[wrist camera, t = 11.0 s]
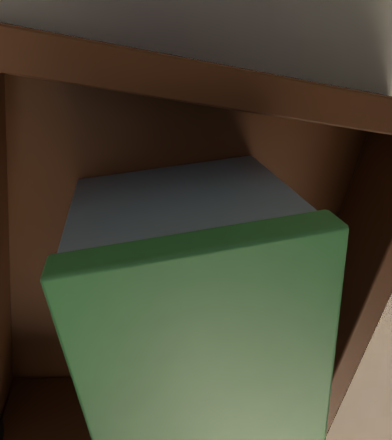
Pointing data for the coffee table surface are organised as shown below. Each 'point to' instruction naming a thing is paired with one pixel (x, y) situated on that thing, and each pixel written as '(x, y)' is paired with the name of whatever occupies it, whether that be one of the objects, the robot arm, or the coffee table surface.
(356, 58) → the coffee table surface
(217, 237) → the container
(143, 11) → the coffee table surface
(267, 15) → the coffee table surface
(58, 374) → the tray
